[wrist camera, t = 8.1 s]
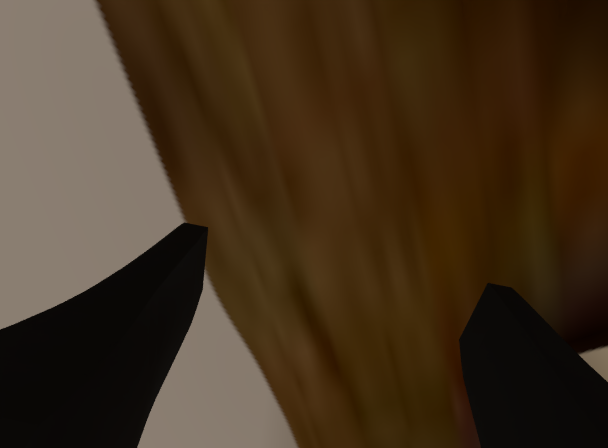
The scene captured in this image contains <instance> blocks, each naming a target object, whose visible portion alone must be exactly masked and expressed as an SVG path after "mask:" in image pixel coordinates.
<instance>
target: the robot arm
mask: <svg viewBox="0 0 608 448" xmlns="http://www.w3.org/2000/svg"><path fill="white" fill-rule="evenodd" d="M207 235H208V227H204V226H199V225H194V224H189V223H183V224H181V225H180V226H178V227H177V228H176V229H175V230H173V231H172V232H171V233H169V234H168V235H167V236H165V237H164V238H163V239H162V240H160V241H159V242H158V243H156V244H155V245H154V246H152V247H151V248H150V249H149V250H147V251H146V252H144V253H143V254H142V255H140V256H139V257H137V258H136V259H135V260H133V261H132V262H130V263H129V264H128V265H126V266H125V267H123V268H122V269H120V270H118V271H117V272H115V273H114V274H112V275H111V276H109V277H108V278H106V279H104V280H103V281H101V282H100V283H98V284H96V285H95V286H93V287H91V288H90V289H88V290H86V291H84V292H83V293H81V294H79V295H77V296H75V297H73V298H71V299H69V300H67V301H65V302H63V303H61V304H59V305H57V306H55V307H53V308H51V309H48V310H46V311H44V312H42V313H39V314H37V315H35V316H32V317H30V318H27V319H26V320H23V321H21V322H18V323H16V324H14V325H11V326H9V327H6V328H3V329H1V330H0V448H137V446H138V444H139V441H140V438H141V435H142V432H143V430H144V427H145V424H146V421H147V418H148V416H149V413H150V411H151V409H152V406H153V404H154V402H155V399H156V397H157V395H158V393H159V391H160V389H161V387H162V384H163V382H164V380H165V378H166V376H167V374H168V372H169V370H170V368H171V366H172V363H173V361H174V359H175V357H176V355H177V353H178V351H179V349H180V347H181V345H182V343H183V340H184V338H185V336H186V334H187V332H188V330H189V327H190V325H191V323H192V320H193V317H194V314H195V311H196V308H197V305H198V302H199V299H200V296H201V293H202V290H203V280H204V268H205V257H206V246H207ZM459 342H460V353H461V363H462V371H463V378H464V382H465V386H466V390H467V394H468V398H469V402H470V406H471V410H472V414H473V418H474V421H475V425H476V429H477V433H478V437H479V441H480V445H481V448H608V382H607V381H606V380H605V379H604V378H603V377H602V376H600V375H599V374H598V373H597V372H596V371H595V370H594V369H593V368H592V367H591V366H589V365H588V364H587V363H586V362H585V361H584V360H583V359H582V358H581V357H580V356H579V355H578V354H577V353H576V352H575V351H574V350H573V349H572V348H571V347H570V346H569V345H568V344H567V343H566V342H565V341H564V340H563V339H562V338H561V337H560V336H559V335H558V334H557V333H556V332H555V331H554V330H553V329H552V327H551V326H550V325H549V324H548V323H547V322H546V321H545V320H544V319H543V318H542V317H541V316H540V315H539V314H538V313H537V312H536V311H535V310H534V309H533V308H532V307H531V306H530V305H529V304H528V303H527V302H526V301H525V300H524V299H523V298H522V297H521V296H520V295H519V294H518V293H517V292H516V291H515V290H513V289H512V288H511V287H506V286H501V285H496V284H491V283H488V284H487V286H486V288H485V290H484V292H483V294H482V296H481V298H480V300H479V302H478V303H477V305H476V307H475V309H474V311H473V313H472V315H471V317H470V319H469V321H468V323H467V325H466V327H465V329H464V331H463V333H462V335H461V337H460V339H459Z"/></svg>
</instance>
